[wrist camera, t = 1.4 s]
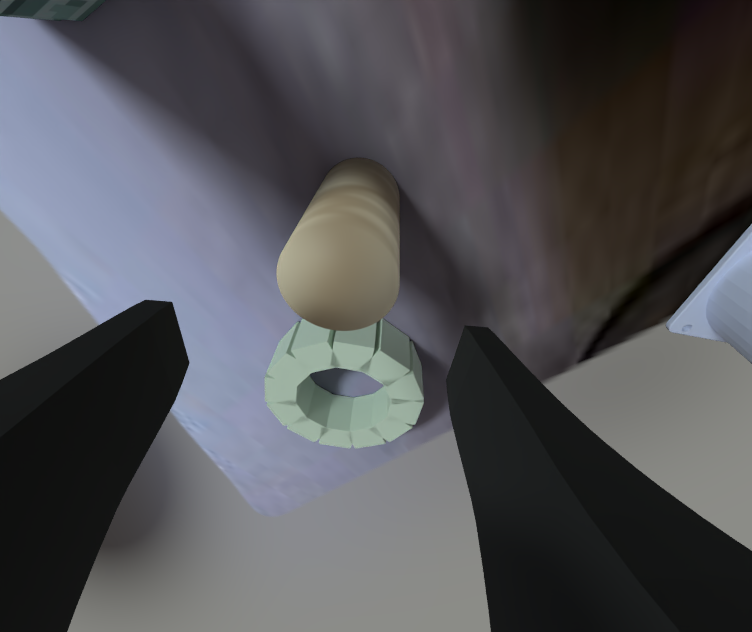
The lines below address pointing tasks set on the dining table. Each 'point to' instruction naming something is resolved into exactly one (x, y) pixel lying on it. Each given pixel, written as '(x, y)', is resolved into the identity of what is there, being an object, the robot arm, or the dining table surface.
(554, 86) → the dining table surface
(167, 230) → the dining table surface
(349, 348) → the pale green segmented ring
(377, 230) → the beige cylinder
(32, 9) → the can
